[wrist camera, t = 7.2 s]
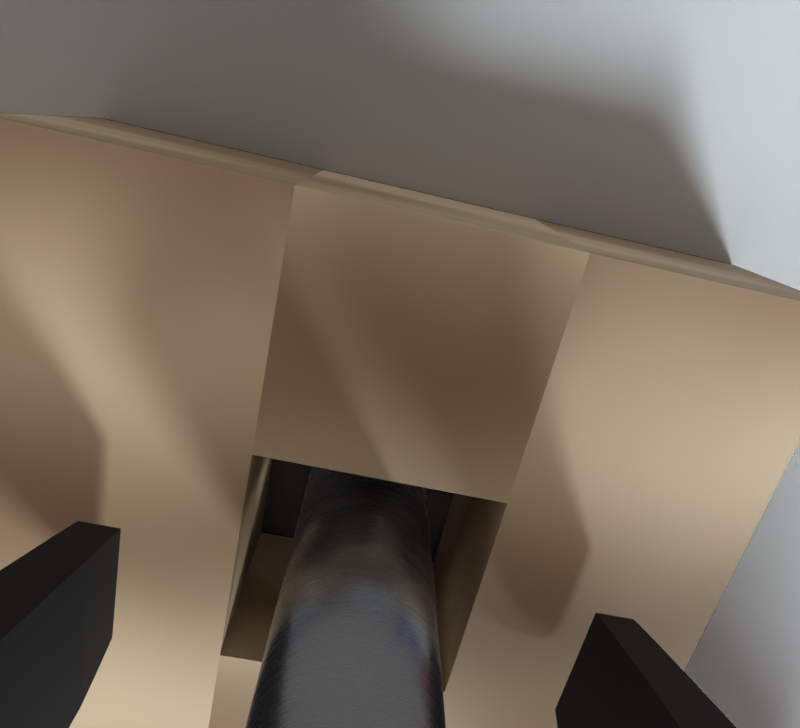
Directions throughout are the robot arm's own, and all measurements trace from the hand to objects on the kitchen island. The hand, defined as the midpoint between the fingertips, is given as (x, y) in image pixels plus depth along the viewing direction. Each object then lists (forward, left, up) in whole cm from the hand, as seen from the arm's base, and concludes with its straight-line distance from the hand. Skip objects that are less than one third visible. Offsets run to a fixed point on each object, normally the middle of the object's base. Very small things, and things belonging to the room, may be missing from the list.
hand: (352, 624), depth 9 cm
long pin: (0, 0, -4) cm, 4 cm away
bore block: (0, 0, -4) cm, 4 cm away
